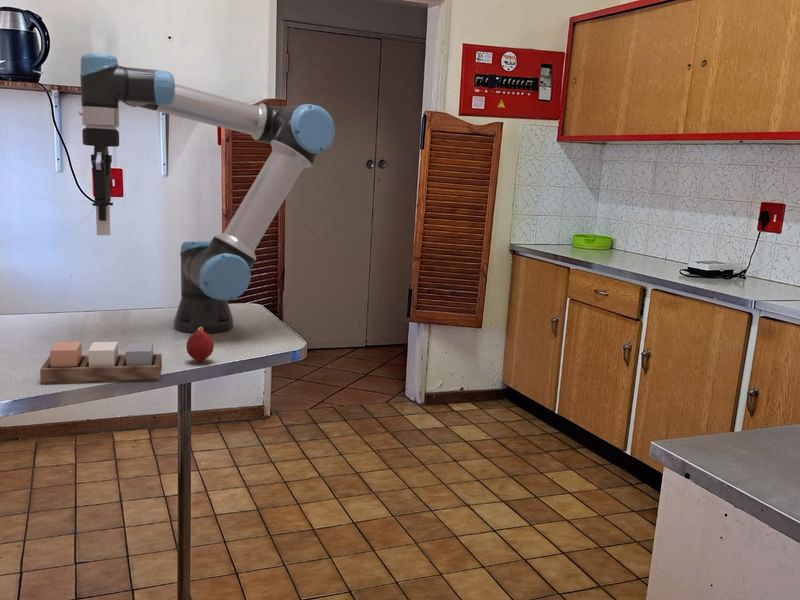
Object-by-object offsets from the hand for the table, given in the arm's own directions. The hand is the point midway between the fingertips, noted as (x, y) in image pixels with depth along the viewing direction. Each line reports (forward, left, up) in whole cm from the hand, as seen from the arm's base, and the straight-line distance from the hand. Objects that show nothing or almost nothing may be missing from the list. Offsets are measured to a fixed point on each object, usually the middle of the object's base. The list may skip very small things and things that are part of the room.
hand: (103, 234), depth 167 cm
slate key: (-9, +22, -24) cm, 34 cm away
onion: (-21, +14, -27) cm, 37 cm away
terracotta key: (+5, +22, -23) cm, 33 cm away
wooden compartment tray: (-2, +22, -26) cm, 34 cm away
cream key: (-2, +22, -24) cm, 32 cm away
